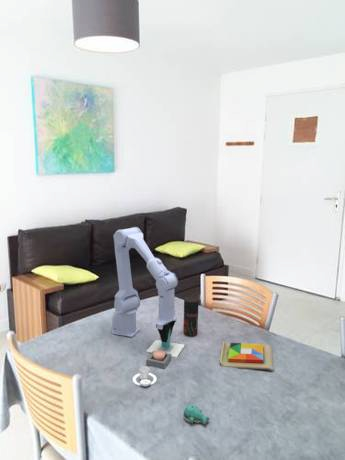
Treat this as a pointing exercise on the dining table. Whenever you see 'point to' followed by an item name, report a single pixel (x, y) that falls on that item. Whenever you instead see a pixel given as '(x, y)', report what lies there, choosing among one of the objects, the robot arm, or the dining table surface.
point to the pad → (173, 348)
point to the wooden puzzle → (246, 356)
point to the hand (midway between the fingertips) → (166, 339)
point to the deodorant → (190, 316)
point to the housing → (156, 363)
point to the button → (159, 355)
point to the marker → (167, 344)
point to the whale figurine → (194, 415)
